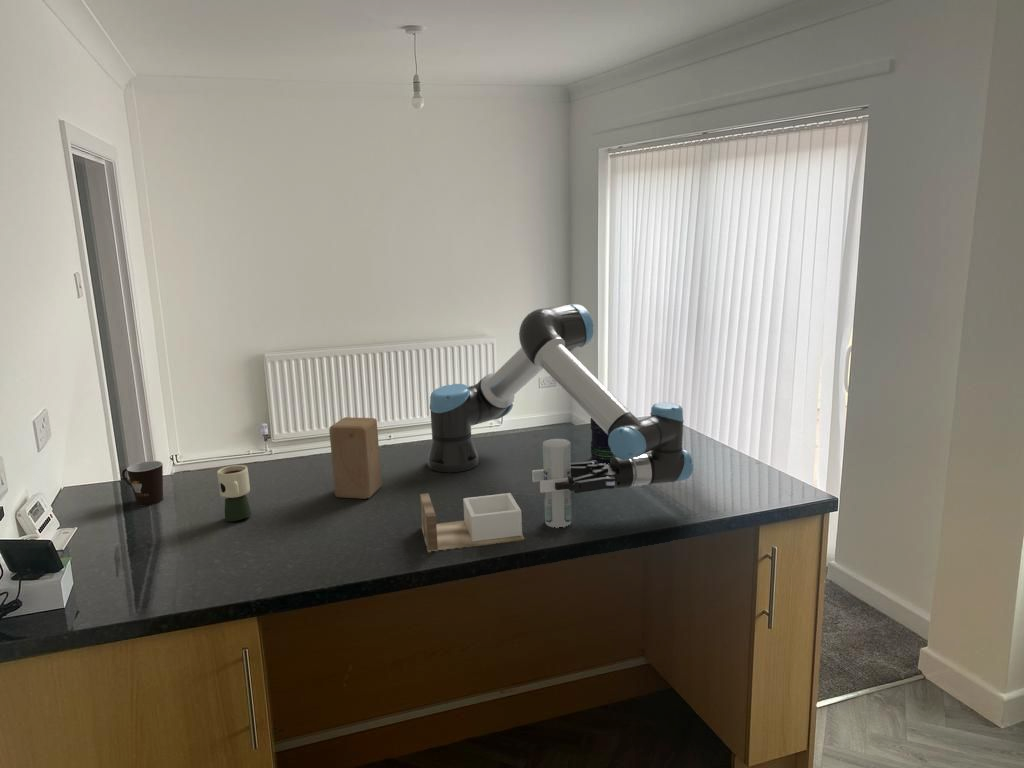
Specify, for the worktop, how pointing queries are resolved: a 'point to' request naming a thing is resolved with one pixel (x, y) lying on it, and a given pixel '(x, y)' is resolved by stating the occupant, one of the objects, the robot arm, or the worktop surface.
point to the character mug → (234, 491)
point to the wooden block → (355, 457)
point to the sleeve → (492, 517)
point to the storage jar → (600, 444)
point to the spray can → (555, 468)
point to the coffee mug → (146, 481)
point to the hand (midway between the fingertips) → (536, 481)
